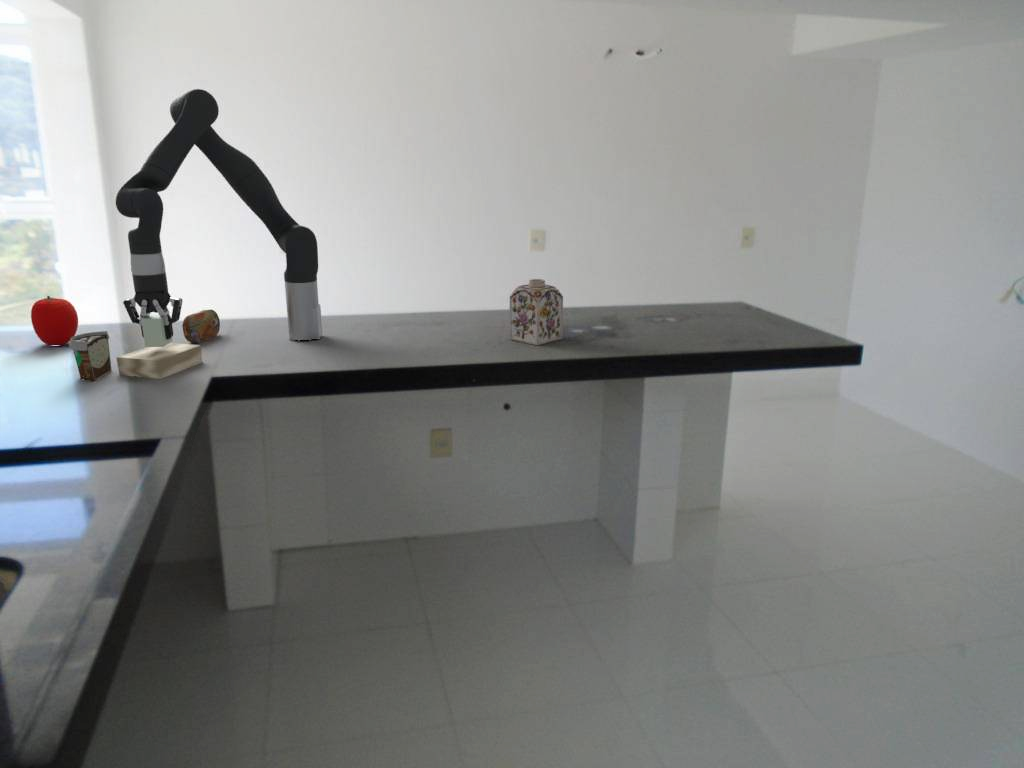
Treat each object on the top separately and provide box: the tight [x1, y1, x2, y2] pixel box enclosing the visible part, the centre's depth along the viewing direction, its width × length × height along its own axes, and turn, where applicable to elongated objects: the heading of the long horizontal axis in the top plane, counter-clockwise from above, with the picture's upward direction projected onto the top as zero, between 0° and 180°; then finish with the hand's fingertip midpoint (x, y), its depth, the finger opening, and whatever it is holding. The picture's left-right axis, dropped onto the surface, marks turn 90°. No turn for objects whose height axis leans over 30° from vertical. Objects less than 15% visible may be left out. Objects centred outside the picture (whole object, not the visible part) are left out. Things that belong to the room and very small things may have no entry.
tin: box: [182, 309, 221, 344], centre depth 218 cm, size 15×3×8 cm, turn 168°
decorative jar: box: [508, 278, 564, 346], centre depth 218 cm, size 12×12×18 cm
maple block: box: [116, 342, 203, 380], centre depth 188 cm, size 12×16×5 cm
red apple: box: [30, 295, 79, 346], centre depth 211 cm, size 13×11×14 cm
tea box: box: [141, 314, 173, 348], centre depth 186 cm, size 4×6×7 cm
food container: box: [68, 330, 113, 382], centre depth 180 cm, size 12×6×10 cm, turn 5°
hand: (158, 338), depth 187 cm, fingers closed on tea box, 4 cm apart
